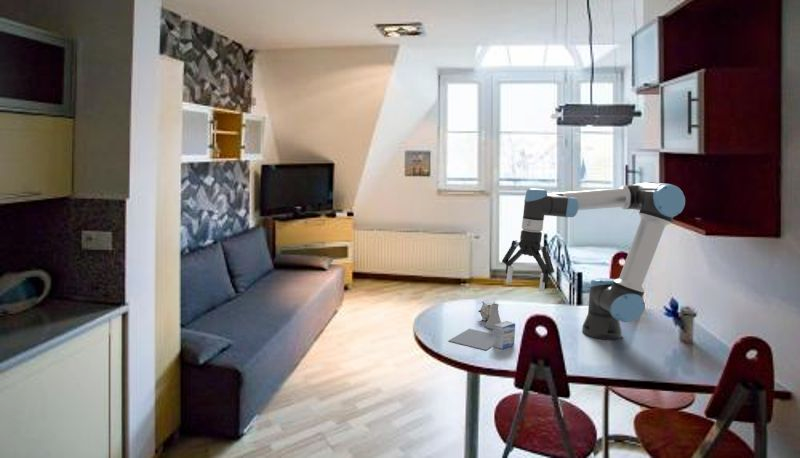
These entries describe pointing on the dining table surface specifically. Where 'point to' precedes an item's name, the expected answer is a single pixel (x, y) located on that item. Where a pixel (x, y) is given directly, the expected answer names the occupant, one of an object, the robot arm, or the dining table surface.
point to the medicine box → (504, 334)
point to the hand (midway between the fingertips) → (524, 286)
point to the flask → (493, 317)
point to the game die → (485, 310)
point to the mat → (474, 339)
